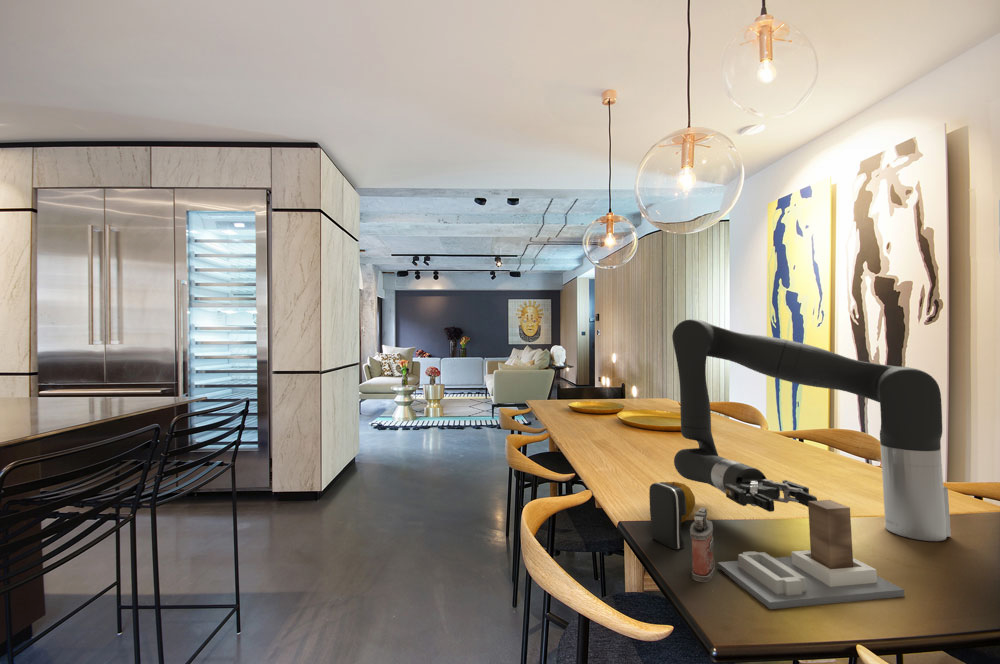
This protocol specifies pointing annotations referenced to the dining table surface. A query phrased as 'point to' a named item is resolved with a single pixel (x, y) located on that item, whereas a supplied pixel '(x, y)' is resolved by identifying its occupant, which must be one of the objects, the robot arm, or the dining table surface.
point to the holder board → (805, 580)
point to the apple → (688, 497)
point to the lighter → (702, 547)
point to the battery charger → (667, 513)
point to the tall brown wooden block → (830, 534)
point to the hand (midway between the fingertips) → (794, 504)
